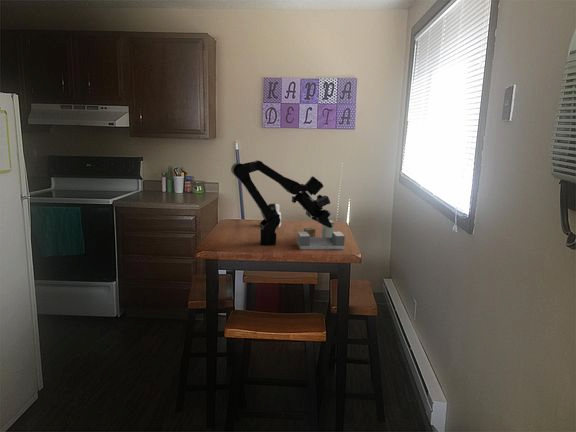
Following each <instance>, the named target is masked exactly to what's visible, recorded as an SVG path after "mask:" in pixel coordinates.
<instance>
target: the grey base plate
mask: <svg viewBox="0 0 576 432" xmlns="http://www.w3.org/2000/svg"><path fill="white" fill-rule="evenodd" d="M296 245H297V246H298V248H299V250H345V244H344V245H337V246H336V245H335V244H334V243H333V242H332V237H322V236H315V237H310V246H300V245H299V243H298V236H297V237H296Z"/></svg>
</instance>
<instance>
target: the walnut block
mask: <svg viewBox="0 0 576 432" xmlns="http://www.w3.org/2000/svg"><path fill="white" fill-rule="evenodd" d="M303 232H307V233H308V234H309V235H310V237H316V229H315V228H314V227H313V228H312V227H305V228H303Z"/></svg>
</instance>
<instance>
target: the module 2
mask: <svg viewBox="0 0 576 432" xmlns="http://www.w3.org/2000/svg"><path fill="white" fill-rule="evenodd" d="M345 239H346V238H345V235H344V234H343V232H341V231H334V232H332V242H333V243H334V244H335V245H336V246H337V245H344V246H345Z"/></svg>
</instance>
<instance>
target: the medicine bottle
mask: <svg viewBox="0 0 576 432" xmlns="http://www.w3.org/2000/svg"><path fill="white" fill-rule="evenodd" d="M267 205H268V206H269V207H270V208H271V207H273V208H275V209H276V211H277V213H278V214H279V215H280V217H279V218H280V224H279V225H278V226H277V228H276V229H279V228H280V227H281V226H282V212H281V211H280V207H281V206H280V204H279V203H268V204H267Z"/></svg>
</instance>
